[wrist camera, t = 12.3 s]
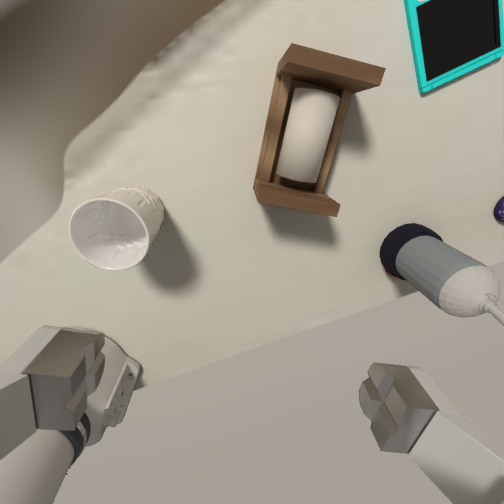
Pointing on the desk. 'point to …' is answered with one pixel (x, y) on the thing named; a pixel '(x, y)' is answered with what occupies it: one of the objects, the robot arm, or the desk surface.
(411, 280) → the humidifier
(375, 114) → the desk surface
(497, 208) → the toy lamp
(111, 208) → the white cup
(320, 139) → the roll
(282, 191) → the holder
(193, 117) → the desk surface
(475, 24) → the handheld game console
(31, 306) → the desk surface
